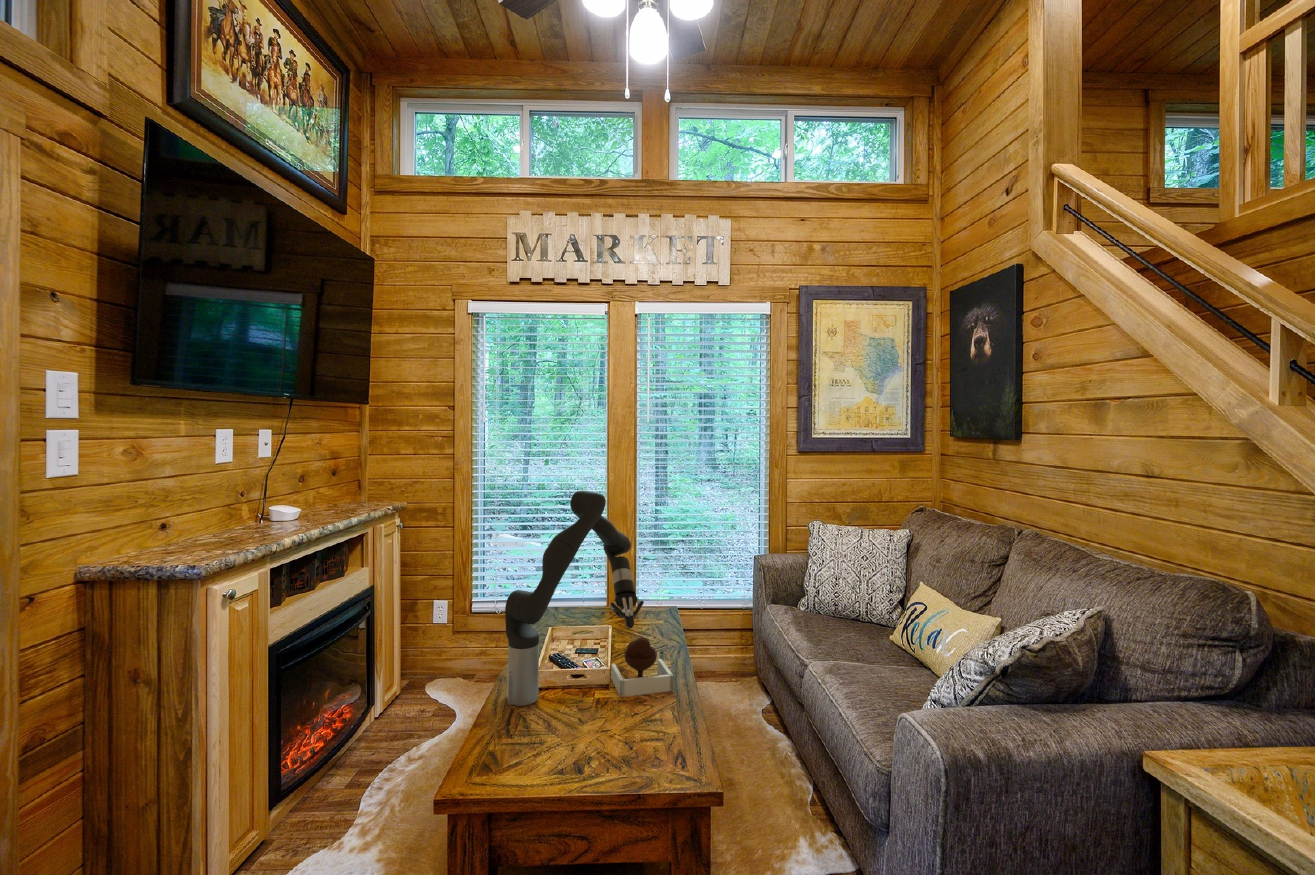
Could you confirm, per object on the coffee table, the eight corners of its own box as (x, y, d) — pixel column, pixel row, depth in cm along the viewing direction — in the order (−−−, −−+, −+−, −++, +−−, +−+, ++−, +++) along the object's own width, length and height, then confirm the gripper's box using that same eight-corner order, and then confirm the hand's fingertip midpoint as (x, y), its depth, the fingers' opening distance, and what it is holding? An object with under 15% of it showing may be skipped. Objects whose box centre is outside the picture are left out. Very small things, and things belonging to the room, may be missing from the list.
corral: (620, 697, 183) (620, 681, 183) (611, 678, 196) (611, 664, 196) (673, 691, 188) (673, 675, 188) (660, 673, 201) (661, 658, 201)
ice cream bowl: (662, 680, 196) (663, 635, 195) (642, 692, 187) (643, 645, 186) (637, 672, 202) (638, 628, 202) (617, 683, 193) (617, 637, 193)
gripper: (607, 579, 214) (613, 624, 203) (642, 577, 218) (650, 621, 207) (604, 590, 220) (610, 633, 208) (638, 587, 223) (646, 630, 212)
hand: (630, 627), depth 207 cm, fingers closed
